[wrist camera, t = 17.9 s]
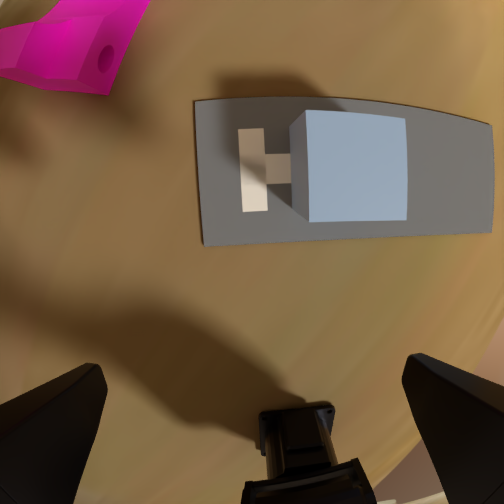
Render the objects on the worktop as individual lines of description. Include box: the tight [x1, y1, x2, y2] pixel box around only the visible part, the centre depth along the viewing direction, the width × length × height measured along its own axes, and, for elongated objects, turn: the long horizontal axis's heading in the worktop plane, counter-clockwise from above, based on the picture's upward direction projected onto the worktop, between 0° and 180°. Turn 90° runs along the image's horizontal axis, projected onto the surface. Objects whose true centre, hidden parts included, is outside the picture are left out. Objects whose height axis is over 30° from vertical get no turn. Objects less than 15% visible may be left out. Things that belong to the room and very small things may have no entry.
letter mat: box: [195, 97, 495, 247], centre depth 17 cm, size 9×23×1 cm, turn 93°
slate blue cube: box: [289, 110, 408, 222], centre depth 15 cm, size 5×5×5 cm
